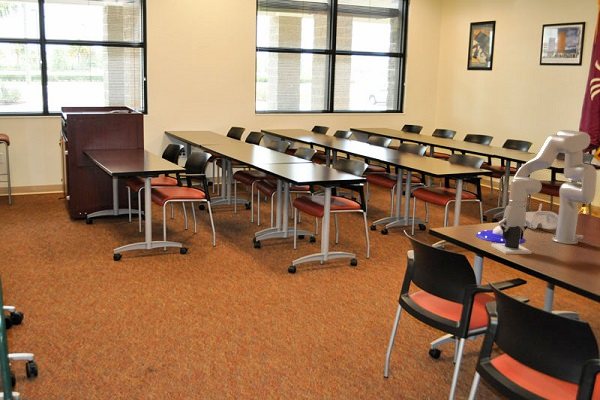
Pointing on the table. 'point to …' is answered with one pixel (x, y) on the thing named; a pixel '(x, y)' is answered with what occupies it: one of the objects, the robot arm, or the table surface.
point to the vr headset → (542, 219)
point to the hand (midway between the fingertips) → (512, 238)
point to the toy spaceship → (494, 235)
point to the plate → (511, 249)
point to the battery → (513, 237)
